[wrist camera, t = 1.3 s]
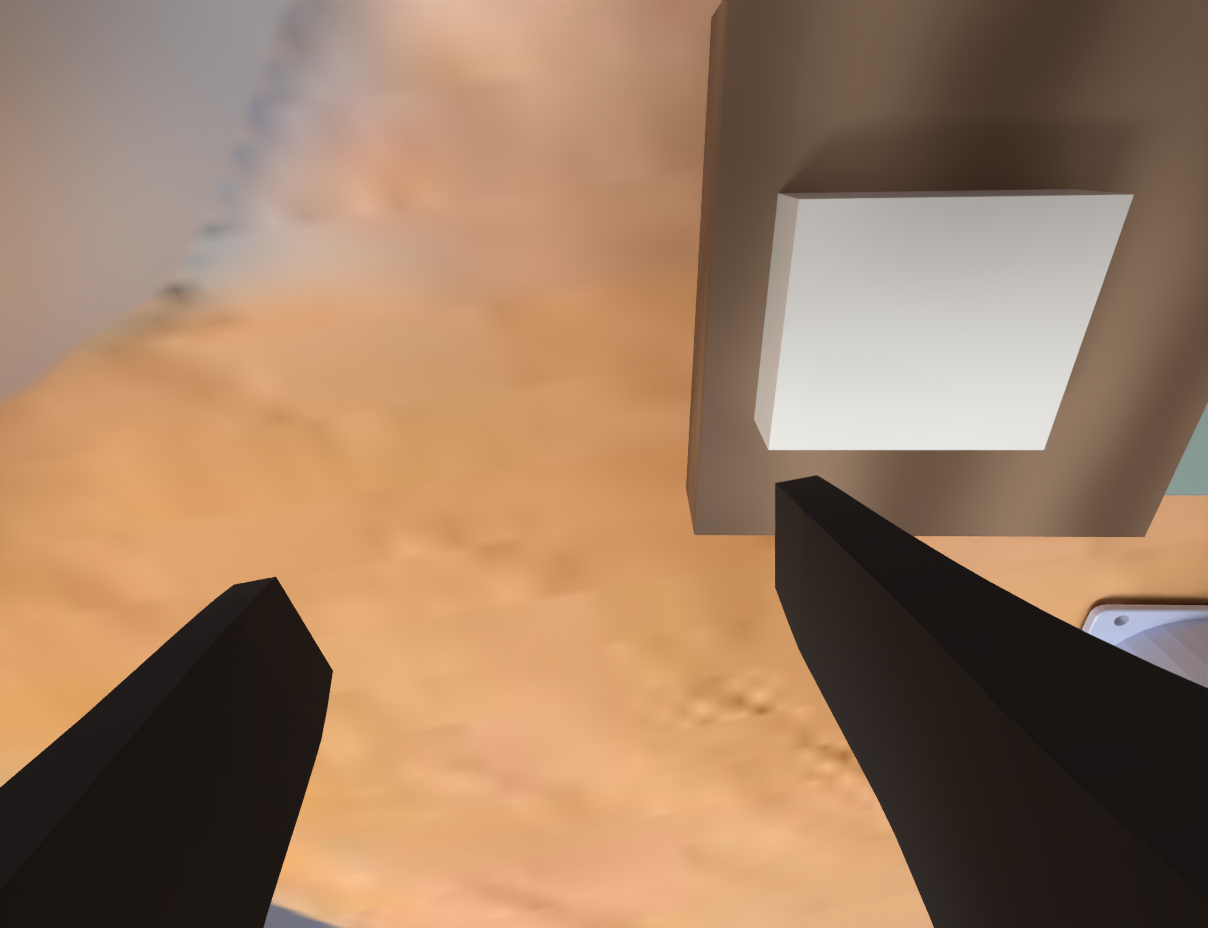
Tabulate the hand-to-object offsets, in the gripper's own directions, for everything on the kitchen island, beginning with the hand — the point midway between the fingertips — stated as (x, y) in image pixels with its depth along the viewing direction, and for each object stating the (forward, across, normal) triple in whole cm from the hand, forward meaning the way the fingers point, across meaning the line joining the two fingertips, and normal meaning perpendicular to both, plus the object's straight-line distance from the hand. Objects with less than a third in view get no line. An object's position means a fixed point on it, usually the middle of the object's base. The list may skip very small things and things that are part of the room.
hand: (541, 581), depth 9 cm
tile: (+8, -10, 0) cm, 13 cm away
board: (+11, -12, +1) cm, 16 cm away
